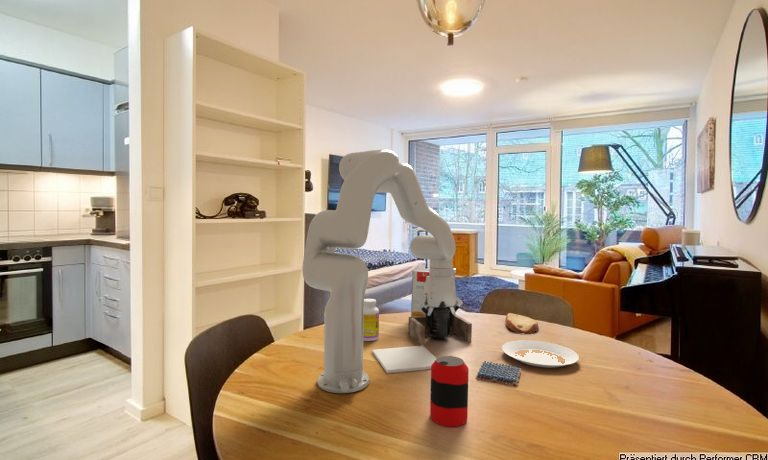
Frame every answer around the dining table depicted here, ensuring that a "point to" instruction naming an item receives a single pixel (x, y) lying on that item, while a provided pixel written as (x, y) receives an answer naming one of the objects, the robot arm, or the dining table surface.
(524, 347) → the plate
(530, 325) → the slice of bread
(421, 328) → the shelf bay
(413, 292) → the hard drive box
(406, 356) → the white square board
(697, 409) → the dining table surface
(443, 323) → the supplement bottle
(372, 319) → the supplement bottle
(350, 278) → the robot arm
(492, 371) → the woven mat
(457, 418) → the soda can
